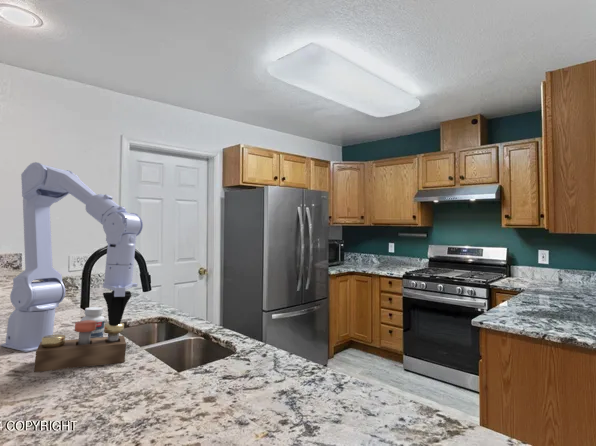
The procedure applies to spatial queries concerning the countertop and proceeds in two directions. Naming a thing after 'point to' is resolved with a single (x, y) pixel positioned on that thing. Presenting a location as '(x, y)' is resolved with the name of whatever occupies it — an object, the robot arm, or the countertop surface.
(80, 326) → the red knob
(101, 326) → the pill bottle
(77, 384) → the countertop surface
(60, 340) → the left brass button
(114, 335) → the right brass button
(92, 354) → the block
